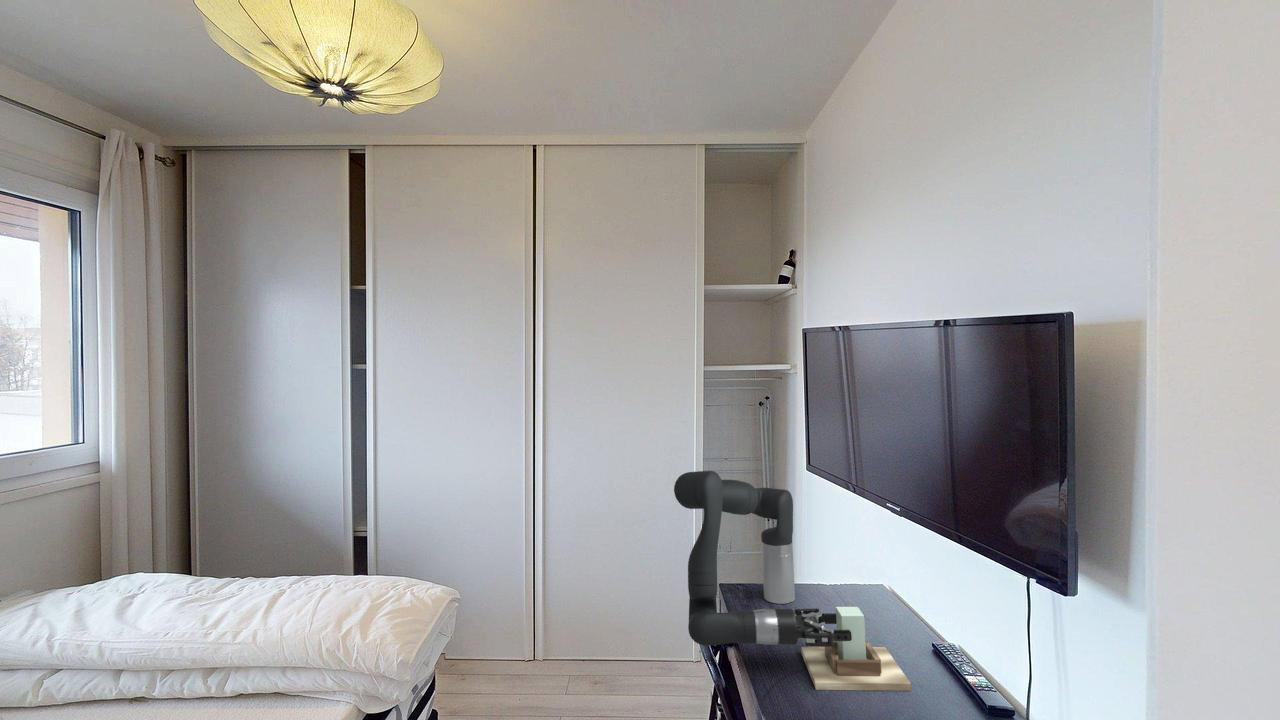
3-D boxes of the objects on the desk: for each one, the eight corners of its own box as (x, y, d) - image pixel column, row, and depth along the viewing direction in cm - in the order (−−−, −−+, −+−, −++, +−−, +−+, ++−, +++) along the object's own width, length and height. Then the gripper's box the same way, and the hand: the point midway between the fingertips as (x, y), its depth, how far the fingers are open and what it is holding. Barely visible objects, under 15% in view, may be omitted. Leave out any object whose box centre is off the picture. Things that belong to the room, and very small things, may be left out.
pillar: (838, 658, 132) (835, 606, 132) (860, 658, 132) (857, 606, 132) (844, 669, 127) (841, 616, 127) (866, 669, 127) (864, 616, 127)
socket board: (801, 653, 138) (800, 634, 138) (885, 653, 136) (884, 634, 136) (815, 689, 122) (814, 668, 122) (911, 690, 120) (910, 669, 121)
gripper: (778, 624, 124) (854, 624, 123) (769, 598, 138) (836, 597, 137) (780, 658, 124) (855, 658, 122) (770, 628, 138) (838, 629, 137)
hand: (845, 626), depth 130 cm, fingers open, 8 cm apart
